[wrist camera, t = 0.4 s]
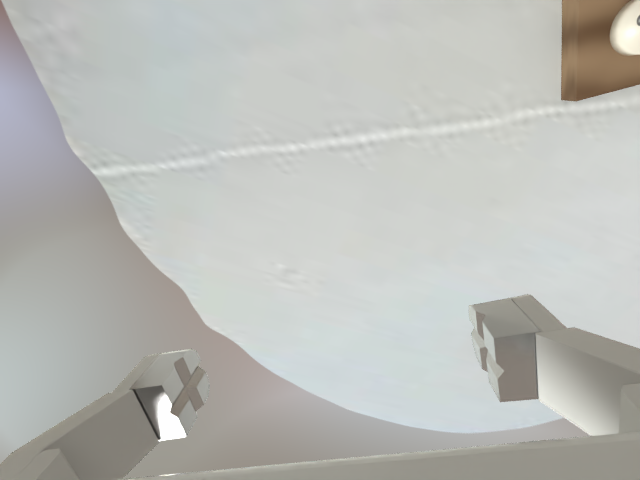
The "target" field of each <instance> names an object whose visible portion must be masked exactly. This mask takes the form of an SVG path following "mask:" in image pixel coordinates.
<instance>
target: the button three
mask: <svg viewBox="0 0 640 480" xmlns="http://www.w3.org/2000/svg"><path fill="white" fill-rule="evenodd" d="M610 42H611V45H612V47H613V49H614V50H615V51H616V52H618V53H619V54H622V55H627V56H630V55H640V0H631V1H630V2H628V3H627V4H626V5H625V6H624V7H623V8H622V9H621V10H620V11H619V13H618V14H617V15H616V17H615V19H614V21H613V23H612V26H611V29H610Z"/></svg>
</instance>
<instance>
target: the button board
mask: <svg viewBox="0 0 640 480" xmlns="http://www.w3.org/2000/svg"><path fill="white" fill-rule="evenodd" d="M630 1H631V0H562V77H561V100H568V101H579V100H583V99H586V98H590V97H594V96H598V95H601V94H605V93H609V92H613V91H616V90H620V89H624V88H628V87H631V86H635V85H639V84H640V55H630V56H627V55H622V54H619V53H618V52H616V51H615V50H614V49H613V47H612V45H611V42H610V29H611V26H612V23H613V21H614V19H615V17H616V15H617V14H618V13H619V11H620V10H621V9H622V8H623V7H624V6H625V5H626V4H627V3H628V2H630Z"/></svg>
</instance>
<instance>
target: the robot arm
mask: <svg viewBox="0 0 640 480" xmlns="http://www.w3.org/2000/svg"><path fill="white" fill-rule="evenodd" d="M469 319H470V321H471V323H472V324H473V326H474V330H473V331H472V333H471V336H472V342H473V347H474V350H475V354H476V357H477V359H478V362H479V364H480V366H481V368H482V369H483V370H485V371H487V372H488V378H489V383H490V384H491V386H492V388H493V390H494V392H495V394H496V395H497V397H498V399H499V401H500V402H507V401H519V400H531V399H539V401H540V402H542V403H543V404H545V405H546V406H548V407H549V408H551V409H552V410H554V411H555V412H557V413H558V414H560V415H561V416H563V417H564V418H566V419H567V420H568V421H570V422H572V423H573V424H574V425H576V426H577V427H579V428H581V429H582V430H583V431H585V432H586V433H588V434H589V435H591V436H584V437H573V438H563V439H552V440H541V441H530V442H520V443H510V444H499V445H488V446H476V447H465V448H455V449H443V450H433V451H421V452H410V453H398V454H387V455H377V456H365V457H354V458H343V459H332V460H321V461H311V462H300V463H289V464H278V465H267V466H256V467H246V468H235V469H224V470H213V471H203V472H191V473H180V474H170V475H158V476H147V477H136V478H125V479H123V478H124V477H125V476H126V475H127V474H128V473H129V472H130V471H131V470H132V469H133V468H134V467H135V466H136V465H137V464H138V463H139V462H140V461H141V460H142V459H143V458H144V457H145V456H146V455H147V454H148V453H149V452H150V451H151V450H152V449H153V448H154V447H155V446H156V445H157V444H158V443H159V441H161V440H168V439H175V438H182V437H187V435H188V433H189V431H190V430H191V427H192V426H193V424H194V422H195V420H196V418H197V414H196V411H197V410H198V409H199V408H200V407H201V406H202V405H204V403H205V401H206V399H207V397H208V393H209V379H208V376H207V374H206V372H205V371H204V370H203V369H201V368H200V367H199V364H200V361H201V360H200V357H199V355H198V353H197V351H195V350H193V349H188V350H180V351H173V352H166V353H159V354H153V355H149V356H146V357H144V358H143V359H142V360H141V361H140V362H139V364H138V365H137V366H136V367H135V368H134V369H133V370H132V372H130V373H129V375H128V376H127V377H126V378H125V379H124V380H123V381H122V382H121V383H120V384H119V385H118V387H117V388H116V389H115V390H114V391H113V392H112V393H108V394H106V395H104V396H102V397H101V398H99V399H98V400H96V401H94V402H93V403H91V404H90V405H88V406H86V407H85V408H83V409H81V410H80V411H78V412H77V413H75V414H73V415H72V416H70V417H68V418H67V419H65V420H64V421H62V422H60V423H59V424H57V425H56V426H54V427H52V428H51V429H49V430H48V431H46V432H44V433H43V434H41V435H40V436H38V437H36V438H35V439H33V440H31V441H30V442H28V443H27V444H25V445H23V446H22V447H20V448H19V449H17V450H15V451H14V452H12V453H11V454H10V455H9V456H8V457H7V458H6V459H5V460H4V461H3V462H2V463H1V464H0V480H640V349H639V348H636V347H633V346H630V345H626V344H623V343H620V342H617V341H614V340H611V339H608V338H605V337H602V336H599V335H596V334H593V333H590V332H587V331H584V330H581V329H578V328H567V327H565V326H564V325H563V324H562V323H561V322H560V321H559V320H558V319H557V318H556V317H555V316H554V315H552V314H551V313H550V312H549V311H548V310H547V309H546V308H545V307H544V306H543V305H542V304H541V303H539V302H538V301H537V300H536V299H535V298H534V297H533V296H532V295H529V294H527V295H522V296H517V297H512V298H507V299H502V300H496V301H491V302H485V303H480V304H474V305H469Z"/></svg>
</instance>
